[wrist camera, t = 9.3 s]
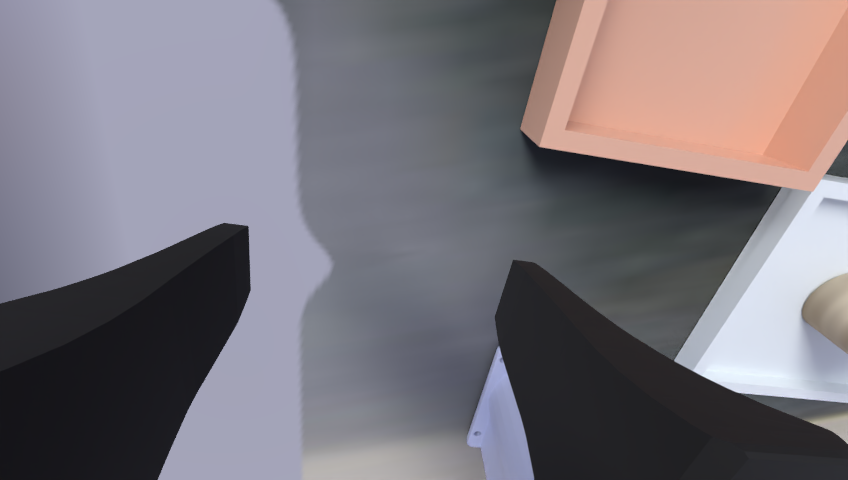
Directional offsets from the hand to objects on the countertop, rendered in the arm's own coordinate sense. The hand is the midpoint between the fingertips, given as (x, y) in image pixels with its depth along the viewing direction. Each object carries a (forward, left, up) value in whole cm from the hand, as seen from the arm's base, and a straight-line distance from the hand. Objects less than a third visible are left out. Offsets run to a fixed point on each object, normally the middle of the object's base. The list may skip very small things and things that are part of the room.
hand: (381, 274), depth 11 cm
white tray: (-4, -27, -9) cm, 29 cm away
